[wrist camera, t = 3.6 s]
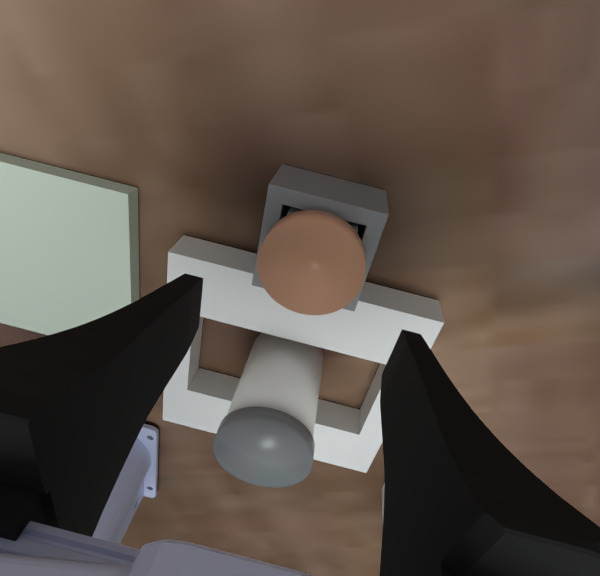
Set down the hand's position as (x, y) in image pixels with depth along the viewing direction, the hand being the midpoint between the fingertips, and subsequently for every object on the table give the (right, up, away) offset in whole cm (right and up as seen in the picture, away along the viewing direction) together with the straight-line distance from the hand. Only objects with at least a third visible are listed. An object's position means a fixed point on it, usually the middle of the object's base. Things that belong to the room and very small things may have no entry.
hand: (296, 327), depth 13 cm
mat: (-15, +3, +10) cm, 18 cm away
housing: (0, -1, +11) cm, 11 cm away
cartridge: (-1, -3, +12) cm, 12 cm away
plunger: (+1, +4, +7) cm, 8 cm away
